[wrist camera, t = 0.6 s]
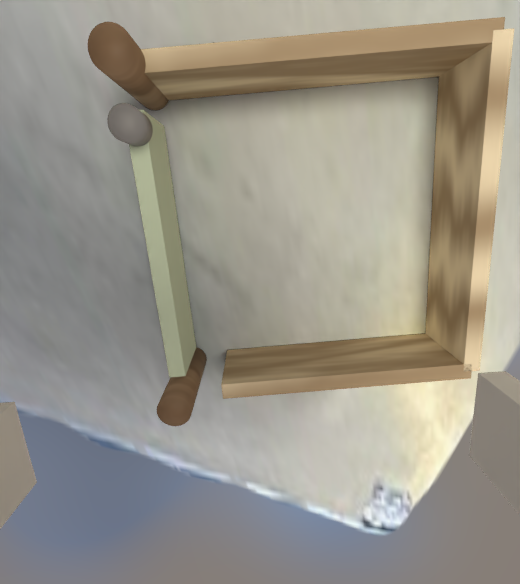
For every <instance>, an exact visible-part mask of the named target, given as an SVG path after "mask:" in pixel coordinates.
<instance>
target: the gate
mask: <svg viewBox="0 0 520 584" xmlns="http://www.w3.org/2000/svg"><path fill="white" fill-rule="evenodd" d="M108 127H109V129H110V131H111V133H112V134H113V135H114V136H115V137H116V138H117V139H118V140H120V141H123V142H125V143H128V144H129V147H130V153H131V159H132V164H133V170H134V176H135V182H136V187H137V193H138V199H139V205H140V211H141V216H142V222H143V228H144V234H145V239H146V245H147V251H148V257H149V263H150V268H151V274H152V280H153V286H154V291H155V297H156V303H157V309H158V315H159V320H160V326H161V332H162V338H163V343H164V349H165V355H166V361H167V367H168V372H169V377H181V376H186V373H187V371H188V368H189V365H190V363H191V360H192V357H193V355H194V352H195V349H196V343H195V336H194V329H193V322H192V315H191V308H190V301H189V294H188V288H187V281H186V274H185V267H184V260H183V253H182V246H181V239H180V233H179V226H178V219H177V212H176V205H175V198H174V191H173V184H172V178H171V171H170V164H169V157H168V150H167V143H166V136H165V129H164V126H163V125H162V124H161V123H159V122H158V121H157V120H156V119H154V118H153V117H152V116H150V115H149V114H148V113H147V112H145V111H144V110H138V109H137V108H136V107H134V106H133V105H131V104H128V103H120V104H117V105H115V106H114V107H113V108H112V109H111V110H110V112H109V115H108Z"/></svg>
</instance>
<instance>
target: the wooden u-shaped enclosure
mask: <svg viewBox="0 0 520 584" xmlns="http://www.w3.org/2000/svg"><path fill="white" fill-rule="evenodd" d="M504 22H505V17H501V18H490V19H479V20H467V21H456V22H445V23H433V24H422V25H411V26H400V27H388V28H377V29H366V30H355V31H343V32H332V33H321V34H309V35H298V36H287V37H276V38H264V39H253V40H242V41H230V42H219V43H208V44H197V45H185V46H174V47H163V48H151V49H140V48H139V46H138V45H137V44H136V43H135V41H134V40H133V39H132V37H131V36H130V35H129V34H128V32H127V31H126V30H125V29H124V28H123V27H122V26H120V25H118V24H116V23H113V22H103V23H100V24H98V25H97V26H96V27H95V28H94V29H93V30H92V31H91V33H90V36H89V39H88V52H89V55H90V58H91V60H92V62H93V63H94V64H95V66H96V67H97V68H98V69H100V70H101V71H102V72H103V73H104V74H106V75H107V76H108V77H109V78H111V79H112V80H113V81H114V82H115V83H117V84H118V85H119V86H120V87H122V88H123V89H124V90H125V91H127V92H128V93H129V94H130V95H131V96H133V97H134V98H135V99H136V100H138V101H139V102H140V103H141V104H142V105H144V106H145V107H146V108H148V109H150V110H160V109H162V108H164V107H165V106H166V105H167V103H168V101H169V100H178V99H189V98H201V97H212V96H223V95H235V94H246V93H258V92H269V91H280V90H292V89H303V88H315V87H326V86H337V85H349V84H360V83H372V82H383V81H394V80H406V79H417V78H429V77H439V84H438V103H437V122H436V141H435V160H434V180H433V199H432V218H431V237H430V256H429V275H428V294H427V313H426V333H424V334H412V335H400V336H388V337H376V338H364V339H352V340H340V341H328V342H316V343H305V344H293V345H281V346H269V347H257V348H245V349H233V350H227V355H226V361H225V366H224V372H223V378H222V384H221V386H222V393H223V399H225V398H237V397H249V396H261V395H274V394H286V393H298V392H310V391H322V390H334V389H346V388H358V387H370V386H382V385H394V384H406V383H418V382H430V381H443V380H455V379H467V378H471V371H478V370H480V360H481V350H482V341H483V331H484V321H485V311H486V301H487V291H488V282H489V272H490V262H491V252H492V242H493V232H494V223H495V213H496V203H497V193H498V183H499V173H500V164H501V154H502V144H503V134H504V124H505V114H506V104H507V95H508V85H509V75H510V65H511V55H512V45H513V36H514V29H504ZM206 360H207V359H206V355H205V353H204V352H203V350H201V349H200V348H197V347H196V349H195V352H194V355H193V357H192V360H191V363H190V365H189V368H188V371H187V373H186V376H181V377H171V378H170V380H169V382H168V384H167V386H166V388H165V391H164V393H163V395H162V397H161V399H160V402H159V404H158V406H157V414H158V417H159V418H160V420H161V421H162V422H164V423H165V424H168V425H171V426H179V425H182V424H184V423H186V422H187V421H188V420H189V419H190V416H191V413H192V410H193V406H194V403H195V399H196V396H197V392H198V389H199V385H200V382H201V378H202V375H203V371H204V368H205V364H206Z"/></svg>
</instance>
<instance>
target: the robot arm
mask: <svg viewBox="0 0 520 584" xmlns="http://www.w3.org/2000/svg"><path fill="white" fill-rule="evenodd" d="M469 456H470V457H471V458H472V460H473V461H474V462H475V463H476V464H477V466H478V467H479V468H480V469H481V470H482V471H483V473H484V474H485V475H486V476H487V477H488V479H489V480H490V481H491V482H492V483H493V484H494V486H495V487H496V488H497V489H498V491H499V492H500V493H501V494H502V495H503V496H504V498H505V499H506V500H507V501H508V502H509V504H510V505H511V506H512V507H513V508H514V510H515V511H516V512H517V513H518V514H519V515H520V381H519V380H517V379H516V378H514V377H513V376H511V375H510V374H508V373H507V372H506V371H504V372H488V373H478V380H477V389H476V398H475V407H474V416H473V425H472V434H471V443H470V453H469ZM36 482H37V481H36V478H35V474H34V470H33V467H32V463H31V460H30V456H29V452H28V449H27V445H26V442H25V438H24V434H23V431H22V427H21V423H20V420H19V416H18V412H17V409H16V405H15V402H6V403H0V529H1V527H2V526H3V525H4V524H5V522H6V521H7V520H8V519H9V517H10V516H11V515H12V513H13V512H14V511H15V509H16V508H17V507H18V506H19V504H20V503H21V502H22V500H23V499H24V498H25V497H26V495H27V494H28V493H29V491H30V490H31V489H32V488H33V486H34V485H35V484H36Z"/></svg>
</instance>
